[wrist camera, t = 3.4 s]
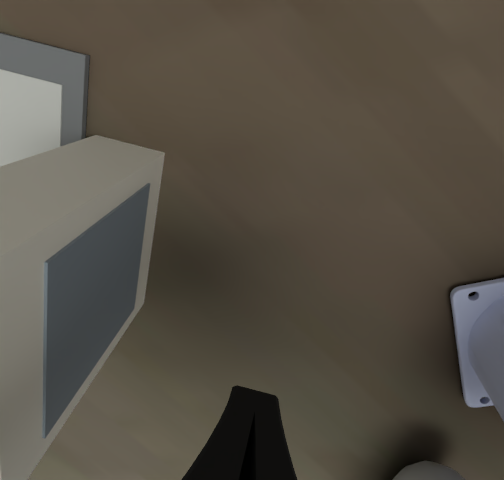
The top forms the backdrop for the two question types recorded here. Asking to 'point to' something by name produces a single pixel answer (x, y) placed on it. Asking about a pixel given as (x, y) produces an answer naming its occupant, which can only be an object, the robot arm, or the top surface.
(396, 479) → the donut
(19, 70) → the mat
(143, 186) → the card box
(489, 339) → the robot arm
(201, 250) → the top surface
